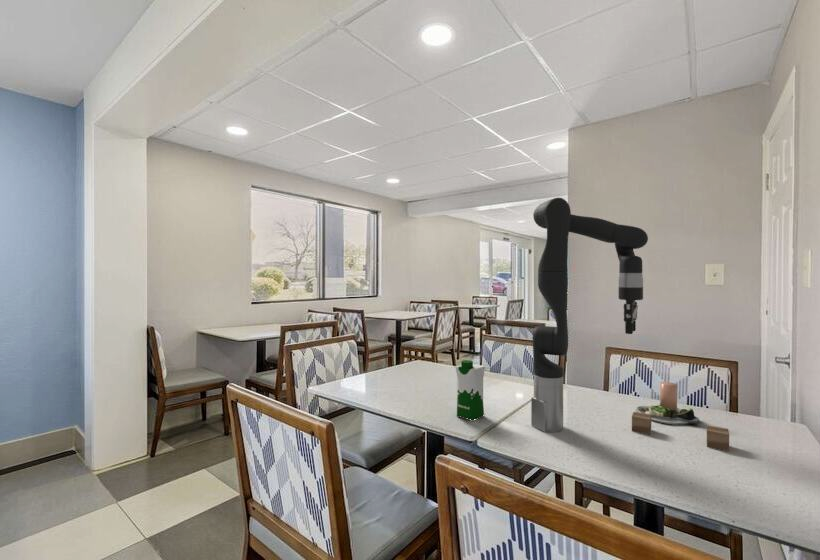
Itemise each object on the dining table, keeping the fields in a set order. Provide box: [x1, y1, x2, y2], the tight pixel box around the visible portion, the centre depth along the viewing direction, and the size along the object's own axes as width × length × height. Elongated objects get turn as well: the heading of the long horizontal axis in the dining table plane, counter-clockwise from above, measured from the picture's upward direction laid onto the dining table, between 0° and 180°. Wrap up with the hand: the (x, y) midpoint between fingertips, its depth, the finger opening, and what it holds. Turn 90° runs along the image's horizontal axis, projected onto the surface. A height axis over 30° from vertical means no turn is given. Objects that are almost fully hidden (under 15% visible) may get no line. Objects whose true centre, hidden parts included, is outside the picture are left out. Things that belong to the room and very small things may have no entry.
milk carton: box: [455, 359, 486, 420], centre depth 139 cm, size 9×9×20 cm
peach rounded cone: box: [659, 381, 678, 409], centre depth 137 cm, size 5×5×8 cm
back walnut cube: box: [631, 411, 652, 436], centre depth 126 cm, size 5×5×5 cm
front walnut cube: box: [706, 424, 730, 452], centre depth 114 cm, size 5×5×5 cm
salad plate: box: [635, 404, 702, 426], centre depth 137 cm, size 19×18×5 cm
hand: (630, 332), depth 136 cm, fingers open, 8 cm apart
